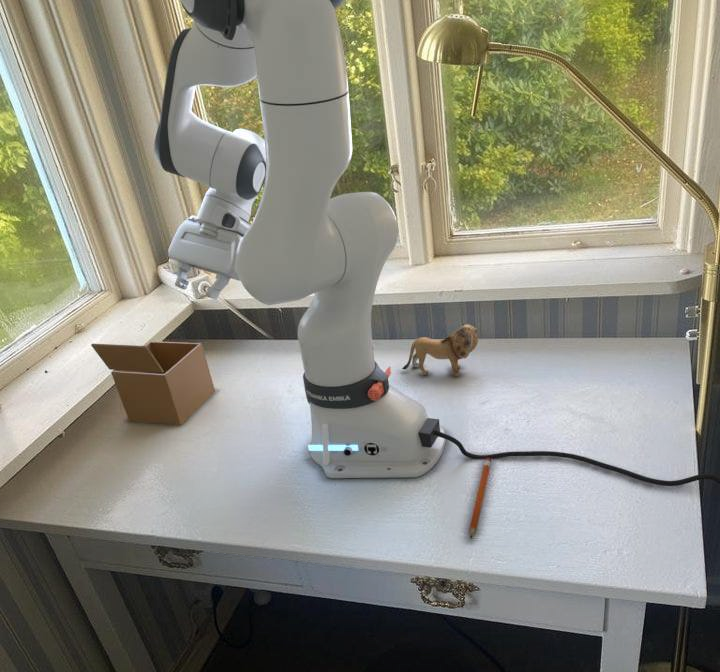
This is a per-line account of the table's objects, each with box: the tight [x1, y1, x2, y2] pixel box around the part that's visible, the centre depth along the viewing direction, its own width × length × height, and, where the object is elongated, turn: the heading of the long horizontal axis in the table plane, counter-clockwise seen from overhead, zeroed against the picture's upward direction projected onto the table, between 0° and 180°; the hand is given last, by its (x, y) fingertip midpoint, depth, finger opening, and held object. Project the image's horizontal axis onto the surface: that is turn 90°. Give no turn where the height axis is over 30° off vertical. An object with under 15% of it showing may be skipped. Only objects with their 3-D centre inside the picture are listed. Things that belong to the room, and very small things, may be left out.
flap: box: [90, 343, 164, 373], centre depth 128 cm, size 12×6×1 cm
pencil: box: [468, 458, 492, 538], centre depth 105 cm, size 1×19×1 cm, turn 164°
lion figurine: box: [401, 324, 479, 377], centre depth 136 cm, size 15×5×9 cm, turn 79°
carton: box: [110, 340, 216, 426], centre depth 138 cm, size 12×13×10 cm
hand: (195, 292), depth 135 cm, fingers open, 8 cm apart
